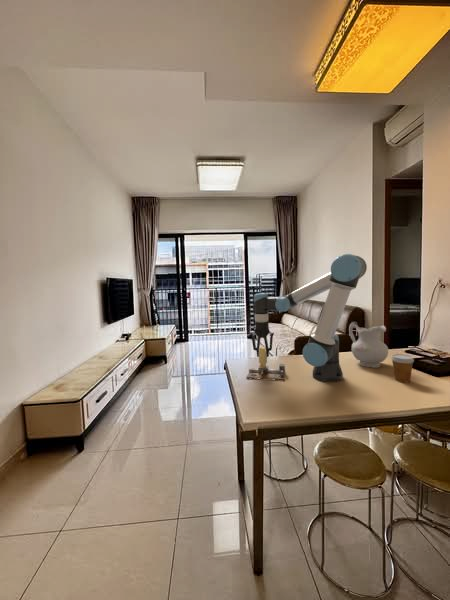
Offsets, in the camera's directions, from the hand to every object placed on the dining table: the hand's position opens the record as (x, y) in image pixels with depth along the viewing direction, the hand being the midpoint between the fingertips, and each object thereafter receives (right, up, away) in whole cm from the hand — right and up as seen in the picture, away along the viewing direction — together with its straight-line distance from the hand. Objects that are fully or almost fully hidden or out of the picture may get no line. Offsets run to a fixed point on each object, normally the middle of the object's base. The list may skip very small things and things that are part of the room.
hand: (263, 362), depth 150 cm
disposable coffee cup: (+67, -5, -17) cm, 69 cm away
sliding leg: (0, -5, -2) cm, 6 cm away
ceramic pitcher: (+64, -3, +9) cm, 64 cm away
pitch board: (+1, -7, -3) cm, 7 cm away
